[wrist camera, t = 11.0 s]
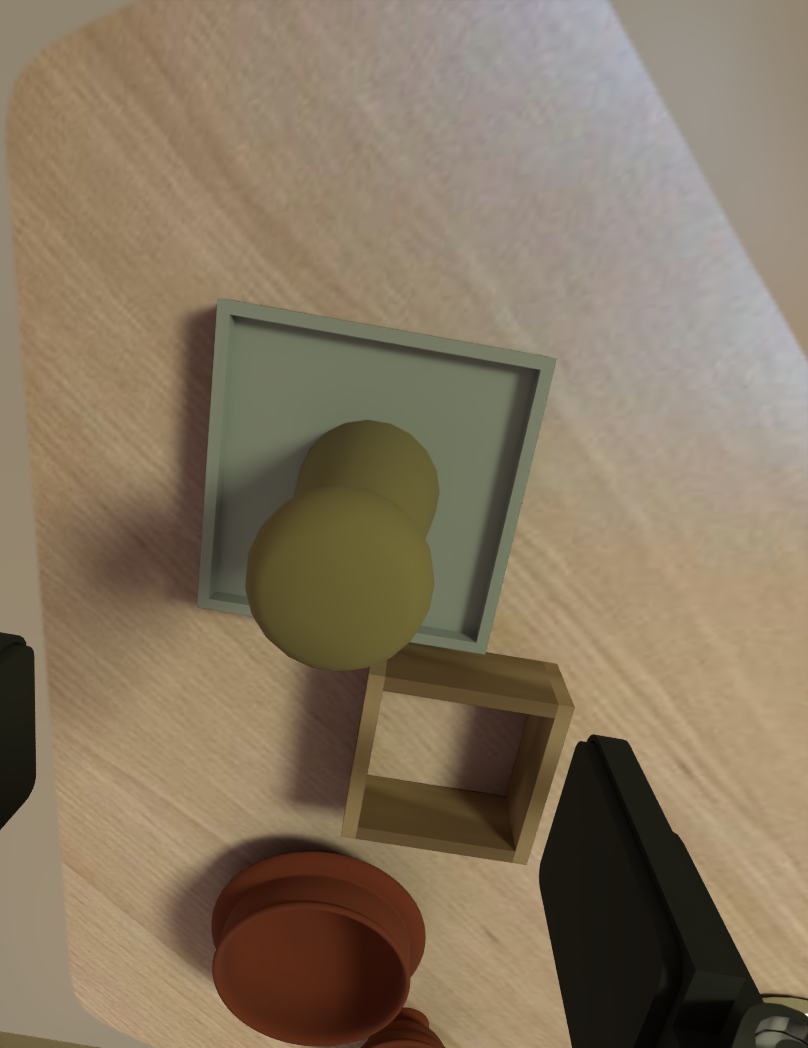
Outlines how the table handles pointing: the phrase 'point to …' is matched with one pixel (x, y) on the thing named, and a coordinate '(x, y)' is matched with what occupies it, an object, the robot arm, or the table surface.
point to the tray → (380, 395)
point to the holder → (455, 813)
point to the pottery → (320, 952)
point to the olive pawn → (348, 550)
